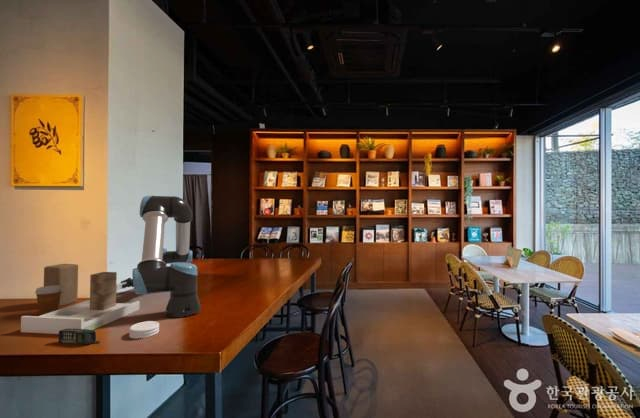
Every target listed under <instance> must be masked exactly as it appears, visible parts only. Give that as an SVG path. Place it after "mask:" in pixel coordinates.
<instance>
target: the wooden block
mask: <svg viewBox="0 0 640 418" xmlns="http://www.w3.org/2000/svg"><path fill="white" fill-rule="evenodd" d="M78 283H79V264H77V263H59V264H53V265H47V266H44V268H43V287H44V286H52V285H61V286H62V288H63V289H62V291H61V295H60V301H59V306H58V308H60V307H63V306H67V305H70V304H74V303H77V302H78V291H79V287H78V286H79V284H78Z"/></svg>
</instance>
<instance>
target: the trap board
mask: <svg viewBox="0 0 640 418" xmlns="http://www.w3.org/2000/svg"><path fill="white" fill-rule="evenodd" d="M140 308H141V307H140V300H136V301H134V302H131V303H122V302H121V303H119V302H118V303H117V302H116V306H114V307H111V308H108V309H106V310H90V299H87V300H84V301H81V302H78V303H75V304H72V305H69V306H66V307H62V308H58V310H56V311H53V312H50V313H47V314H44V315H38V316H37V315H36V316H35V315H34V316H33V315H22V316H20V333H33V334H34V333H35V334H49V335H50V334H51V335H52V334H53V335H59V331H60V330H63V329H89V330H94V331H95V330H96V329H98V328H100V327H102V326H105V325H107V324H109V323H112V322H113V321H116V320H119V319H121V318H122V317H125V316H127V315H129V314H132V313H134V312H136V311H138V310H140Z"/></svg>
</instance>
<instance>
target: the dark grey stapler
mask: <svg viewBox="0 0 640 418" xmlns="http://www.w3.org/2000/svg"><path fill="white" fill-rule="evenodd" d="M96 338H97V332H96V331H95V329H94V330H89V329H63V330H60V331H59V334H58V343H60V344H70V345H71V344H72V345H80V346H81V345H82V346H84V345H90V344H99V343H101V341H100V340H97V339H96Z"/></svg>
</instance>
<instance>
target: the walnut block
mask: <svg viewBox="0 0 640 418" xmlns="http://www.w3.org/2000/svg"><path fill="white" fill-rule="evenodd" d="M117 274H118V273H117V271H102V272H97V273H93V274H92V273H91V274H90V276H89V277H90V279H89V281H90V282H89V283H90V284H89V285H90V286H89V300H90V310H106V309H108V308H111V307H114V306H116V303H117V291H116V284H117Z"/></svg>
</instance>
